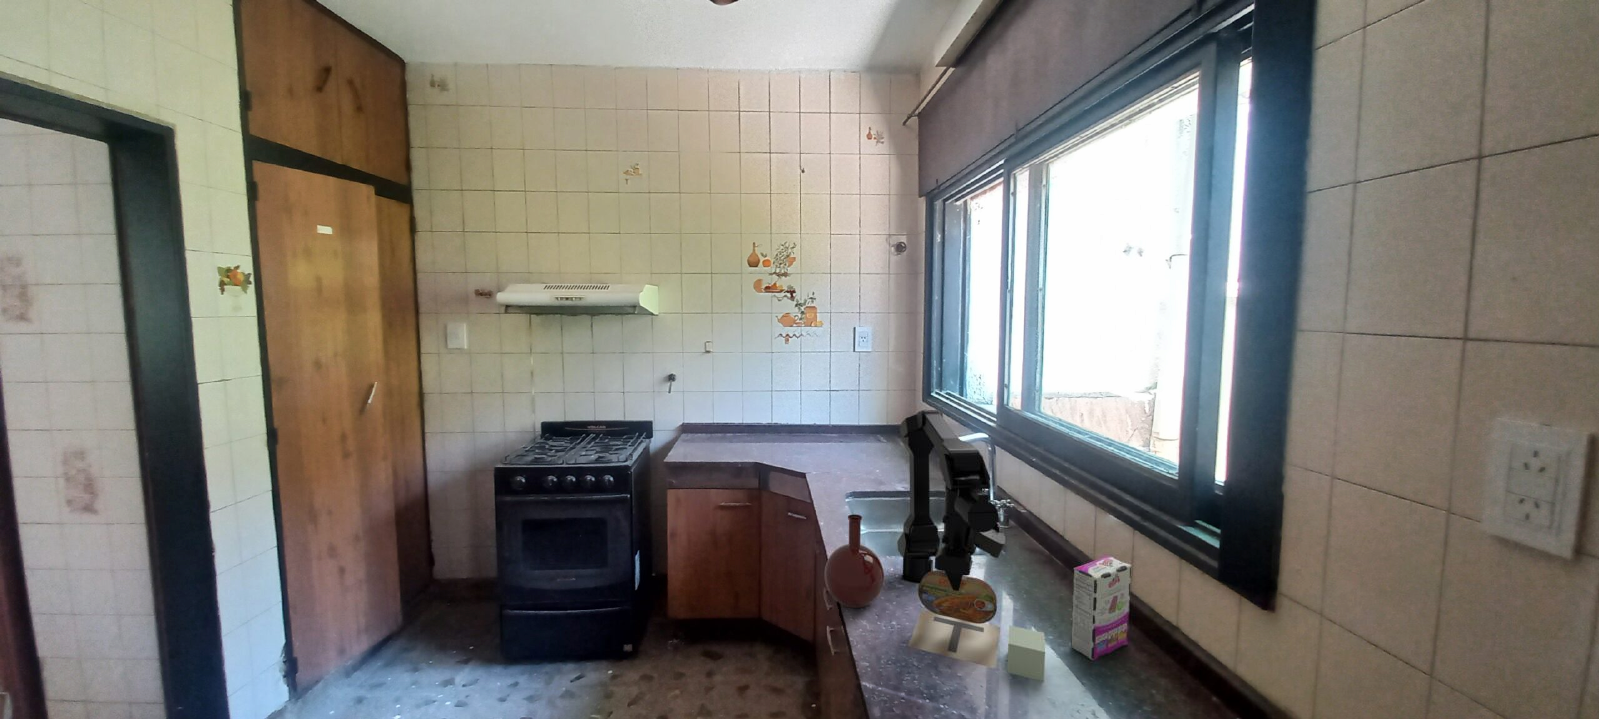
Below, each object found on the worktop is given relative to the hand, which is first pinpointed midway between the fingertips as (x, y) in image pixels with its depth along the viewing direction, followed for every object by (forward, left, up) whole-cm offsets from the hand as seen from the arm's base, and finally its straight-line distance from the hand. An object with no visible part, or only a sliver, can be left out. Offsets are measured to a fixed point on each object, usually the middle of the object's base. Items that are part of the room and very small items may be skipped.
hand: (956, 586), depth 105 cm
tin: (0, +1, -6) cm, 6 cm away
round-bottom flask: (-22, +4, -11) cm, 25 cm away
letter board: (0, 0, -11) cm, 11 cm away
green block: (+13, -4, -11) cm, 17 cm away
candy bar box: (+26, +9, -11) cm, 30 cm away
